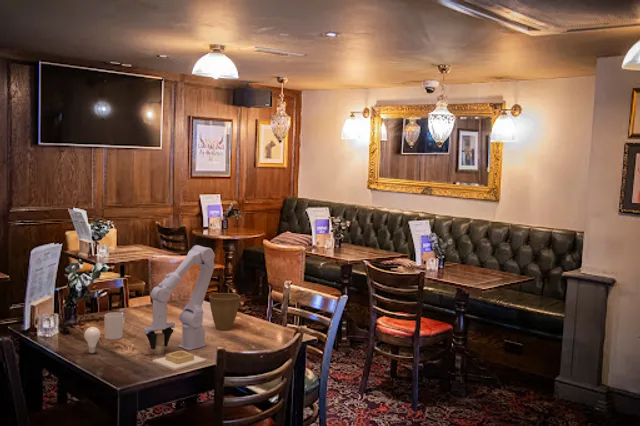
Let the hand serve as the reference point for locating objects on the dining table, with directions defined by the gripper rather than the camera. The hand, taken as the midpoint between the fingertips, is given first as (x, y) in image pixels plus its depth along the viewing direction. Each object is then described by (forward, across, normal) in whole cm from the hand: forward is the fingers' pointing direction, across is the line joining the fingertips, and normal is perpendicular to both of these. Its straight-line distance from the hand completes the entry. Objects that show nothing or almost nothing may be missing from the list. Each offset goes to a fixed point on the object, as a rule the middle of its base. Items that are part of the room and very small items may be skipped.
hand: (159, 347), depth 272 cm
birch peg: (+2, 0, 0) cm, 2 cm away
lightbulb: (+3, +20, -18) cm, 27 cm away
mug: (+3, -1, -33) cm, 33 cm away
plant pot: (+3, -46, -11) cm, 47 cm away
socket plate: (+2, +1, +15) cm, 15 cm away
